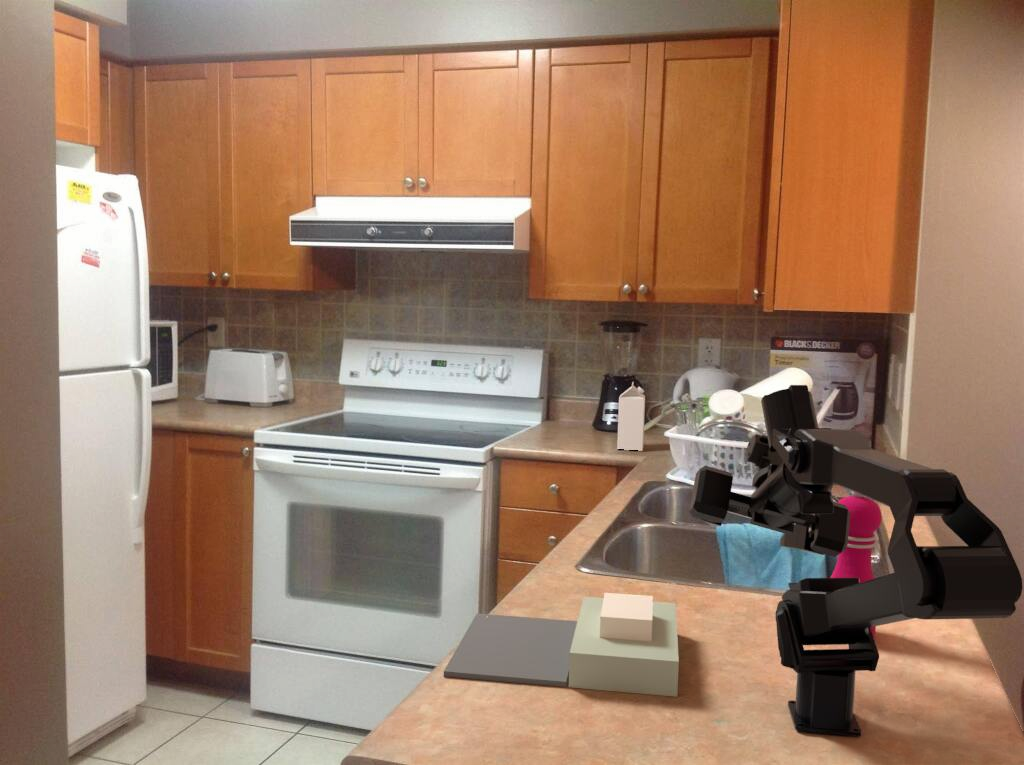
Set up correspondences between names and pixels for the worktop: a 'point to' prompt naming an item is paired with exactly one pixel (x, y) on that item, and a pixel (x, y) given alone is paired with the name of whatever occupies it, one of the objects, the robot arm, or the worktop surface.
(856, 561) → the pepper mill
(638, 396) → the milk carton
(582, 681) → the block
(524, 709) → the worktop surface
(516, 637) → the mat
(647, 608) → the tilted white rectangular prism
